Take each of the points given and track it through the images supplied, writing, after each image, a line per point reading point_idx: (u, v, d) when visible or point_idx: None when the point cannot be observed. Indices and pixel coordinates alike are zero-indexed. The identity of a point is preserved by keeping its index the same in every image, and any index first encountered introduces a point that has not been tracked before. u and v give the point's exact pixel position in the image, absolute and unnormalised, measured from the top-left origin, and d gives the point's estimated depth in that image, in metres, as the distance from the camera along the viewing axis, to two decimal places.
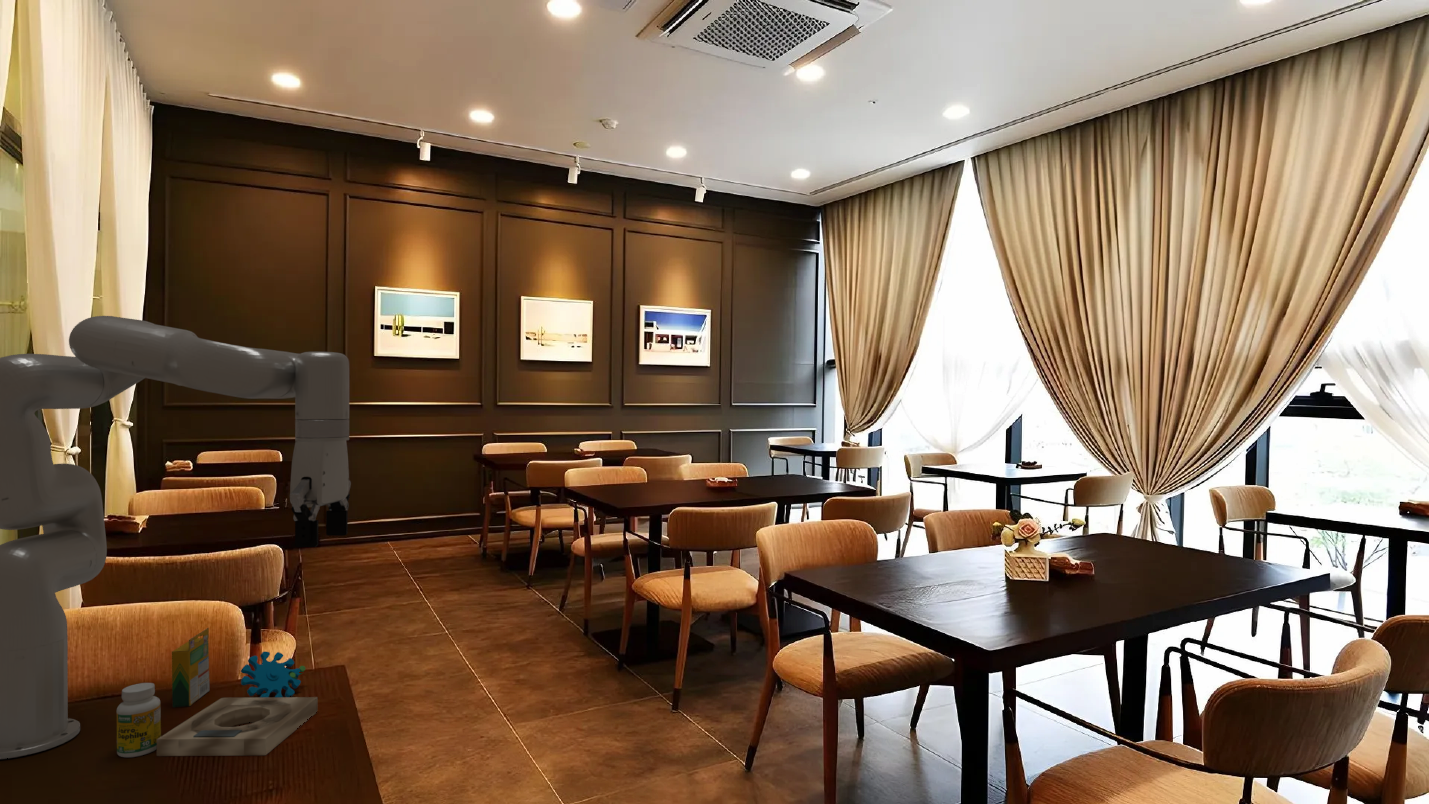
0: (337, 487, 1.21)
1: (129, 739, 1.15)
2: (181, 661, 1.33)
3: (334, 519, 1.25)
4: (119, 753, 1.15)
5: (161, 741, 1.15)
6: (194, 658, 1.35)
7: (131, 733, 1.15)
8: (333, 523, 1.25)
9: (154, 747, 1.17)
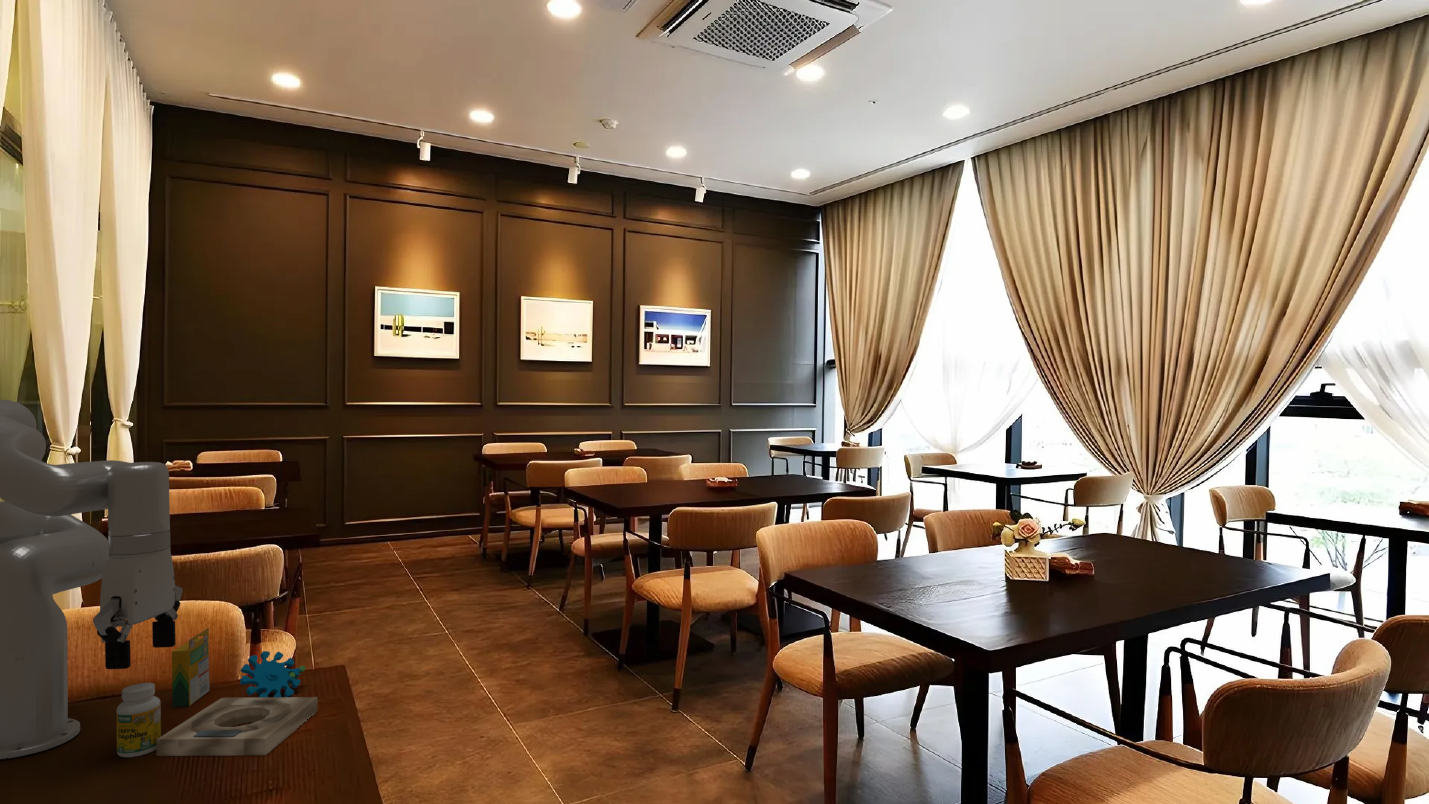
0: (157, 601, 1.17)
1: (129, 739, 1.15)
2: (181, 661, 1.33)
3: (160, 631, 1.22)
4: (119, 753, 1.15)
5: (161, 741, 1.15)
6: (194, 658, 1.35)
7: (131, 733, 1.15)
8: (159, 635, 1.22)
9: (154, 747, 1.17)
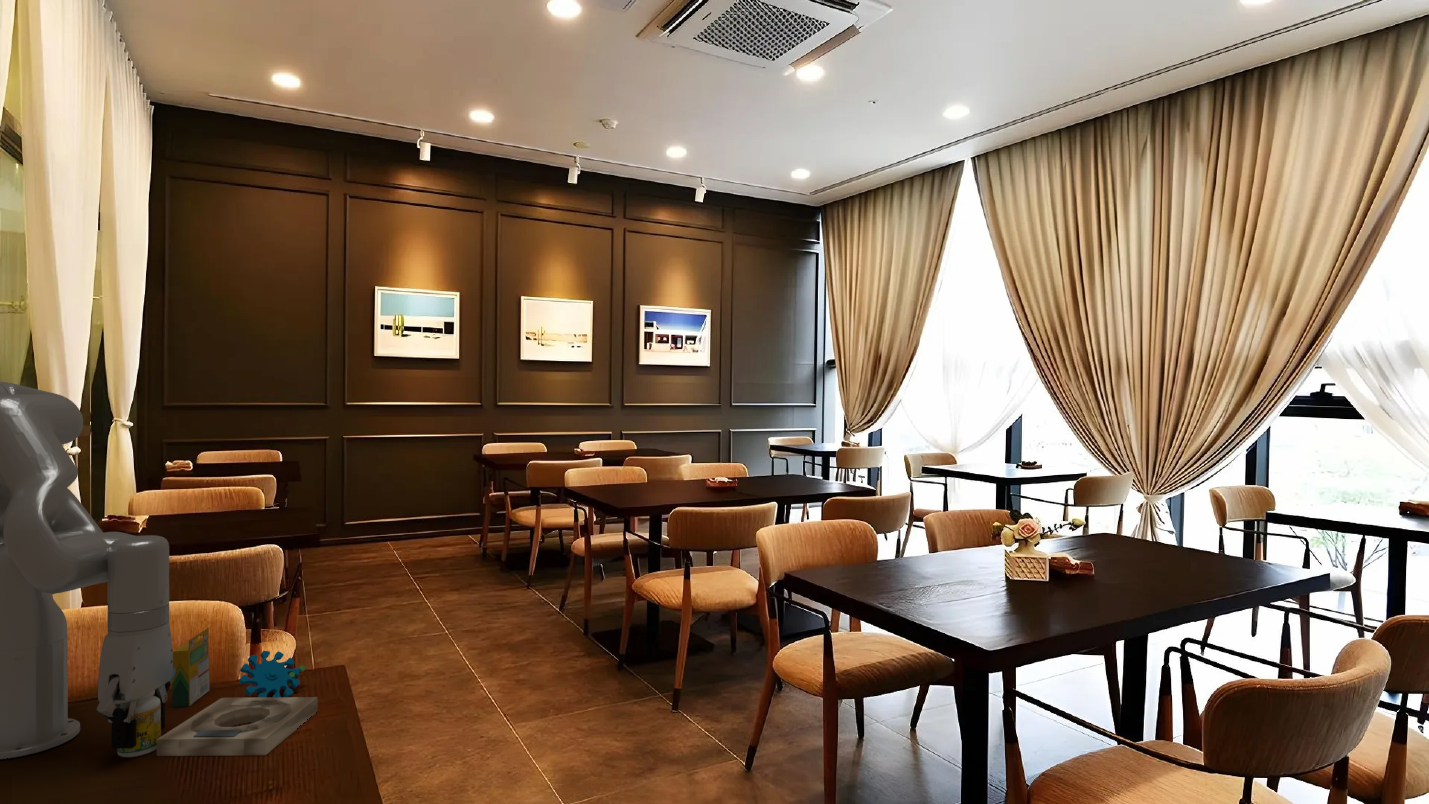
0: (154, 676, 1.17)
1: None
2: (181, 661, 1.33)
3: None
4: (119, 753, 1.15)
5: (161, 741, 1.15)
6: (194, 658, 1.35)
7: None
8: None
9: (154, 747, 1.17)
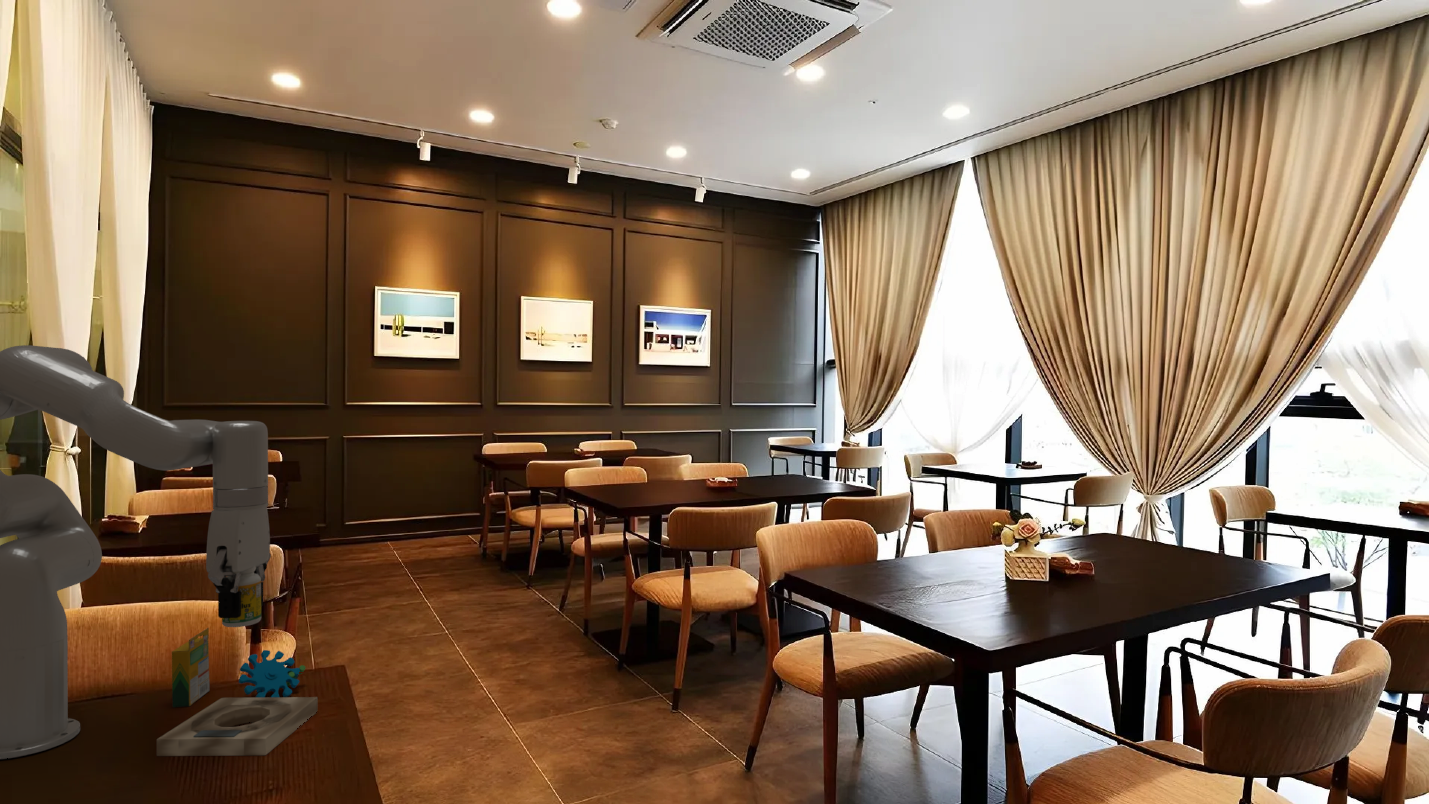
0: (256, 553, 1.23)
1: None
2: (181, 661, 1.34)
3: None
4: (225, 623, 1.21)
5: (161, 741, 1.15)
6: (194, 658, 1.35)
7: None
8: None
9: (256, 619, 1.23)
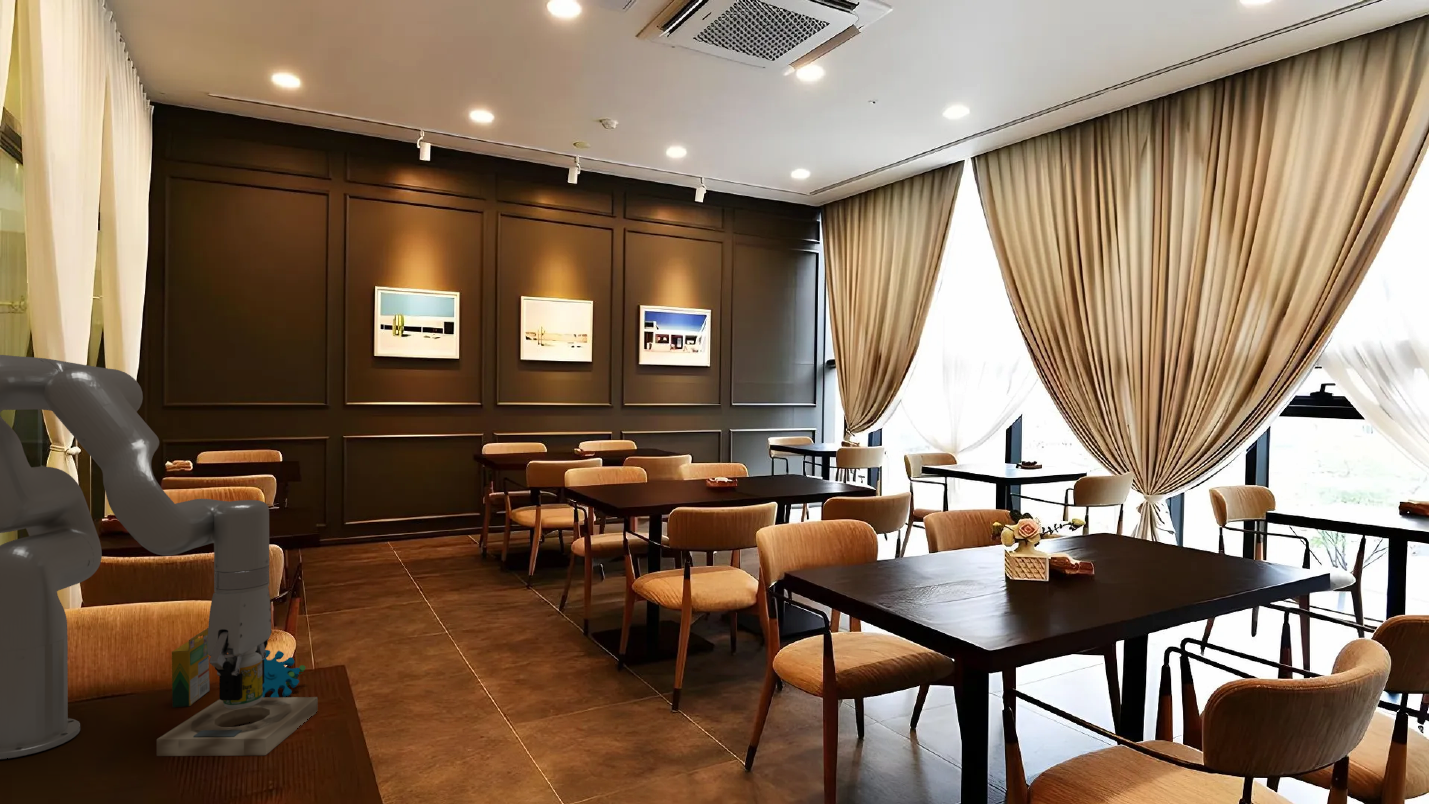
0: (257, 633, 1.24)
1: None
2: (181, 661, 1.33)
3: None
4: (226, 705, 1.21)
5: (161, 741, 1.15)
6: (194, 658, 1.35)
7: None
8: None
9: (258, 700, 1.23)
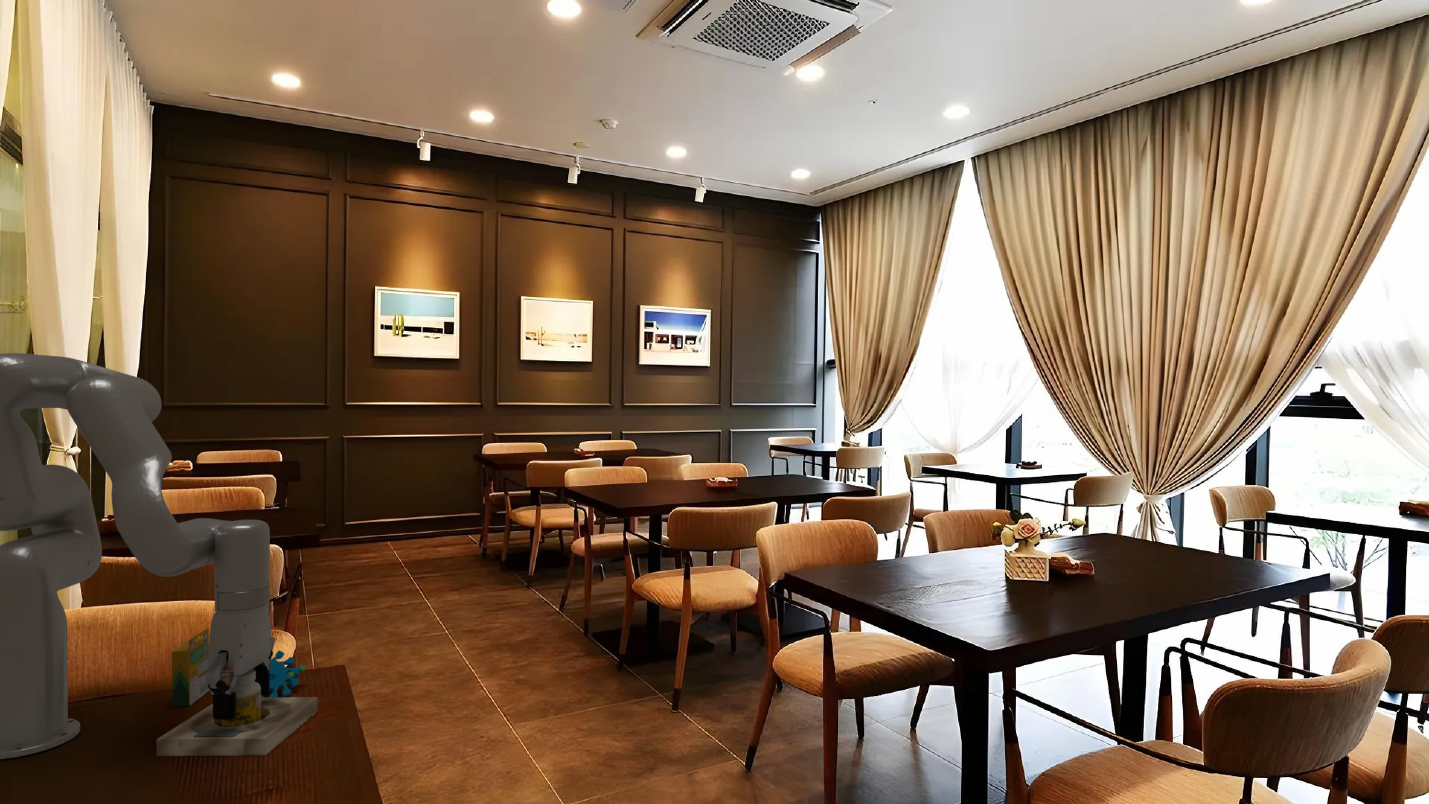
0: (257, 653, 1.24)
1: (234, 721, 1.21)
2: (181, 661, 1.33)
3: (256, 680, 1.28)
4: None
5: (161, 741, 1.15)
6: (194, 658, 1.35)
7: (236, 716, 1.21)
8: None
9: None
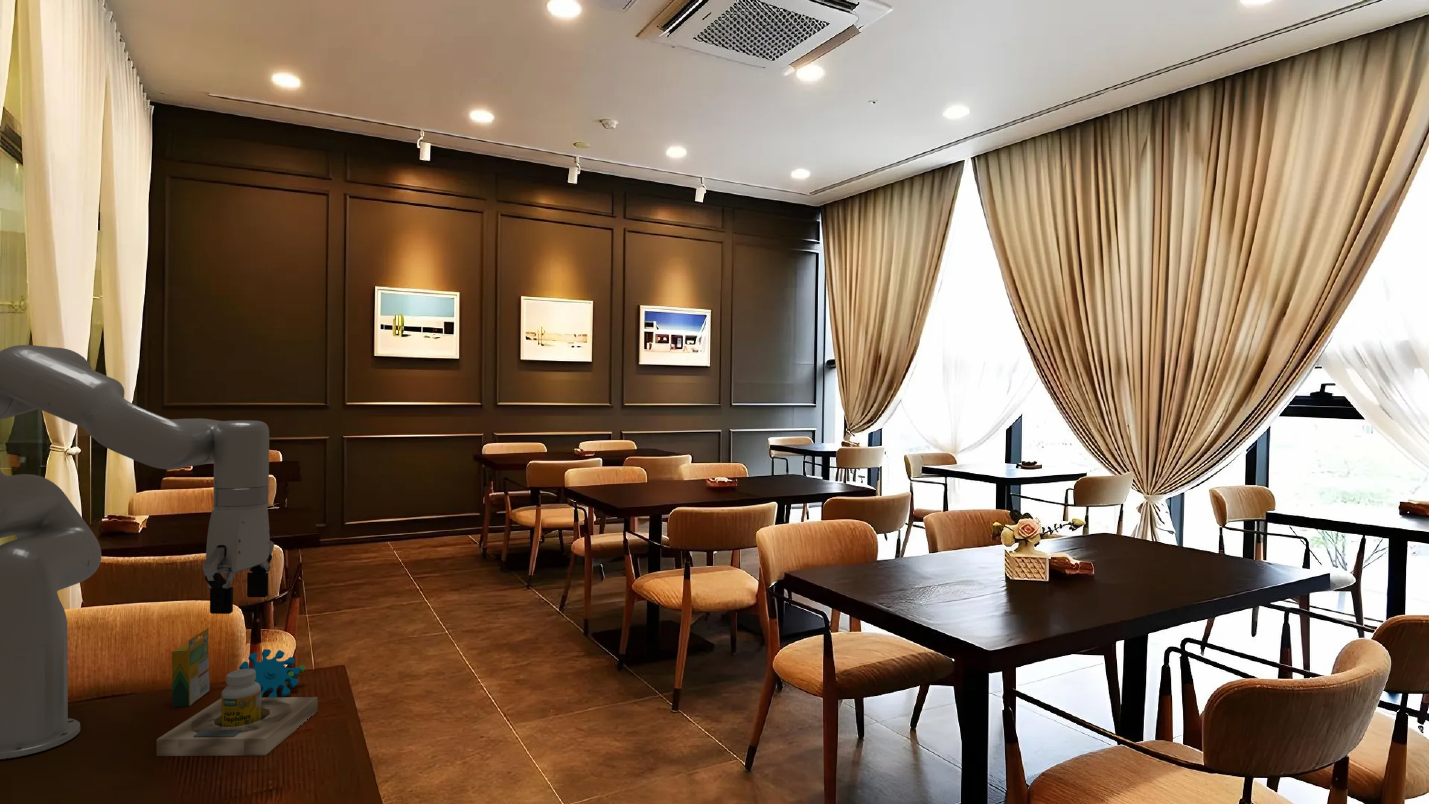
0: (255, 552, 1.24)
1: (234, 721, 1.21)
2: (181, 661, 1.33)
3: (255, 581, 1.28)
4: None
5: (161, 741, 1.15)
6: (194, 658, 1.35)
7: (236, 716, 1.21)
8: (254, 585, 1.28)
9: None
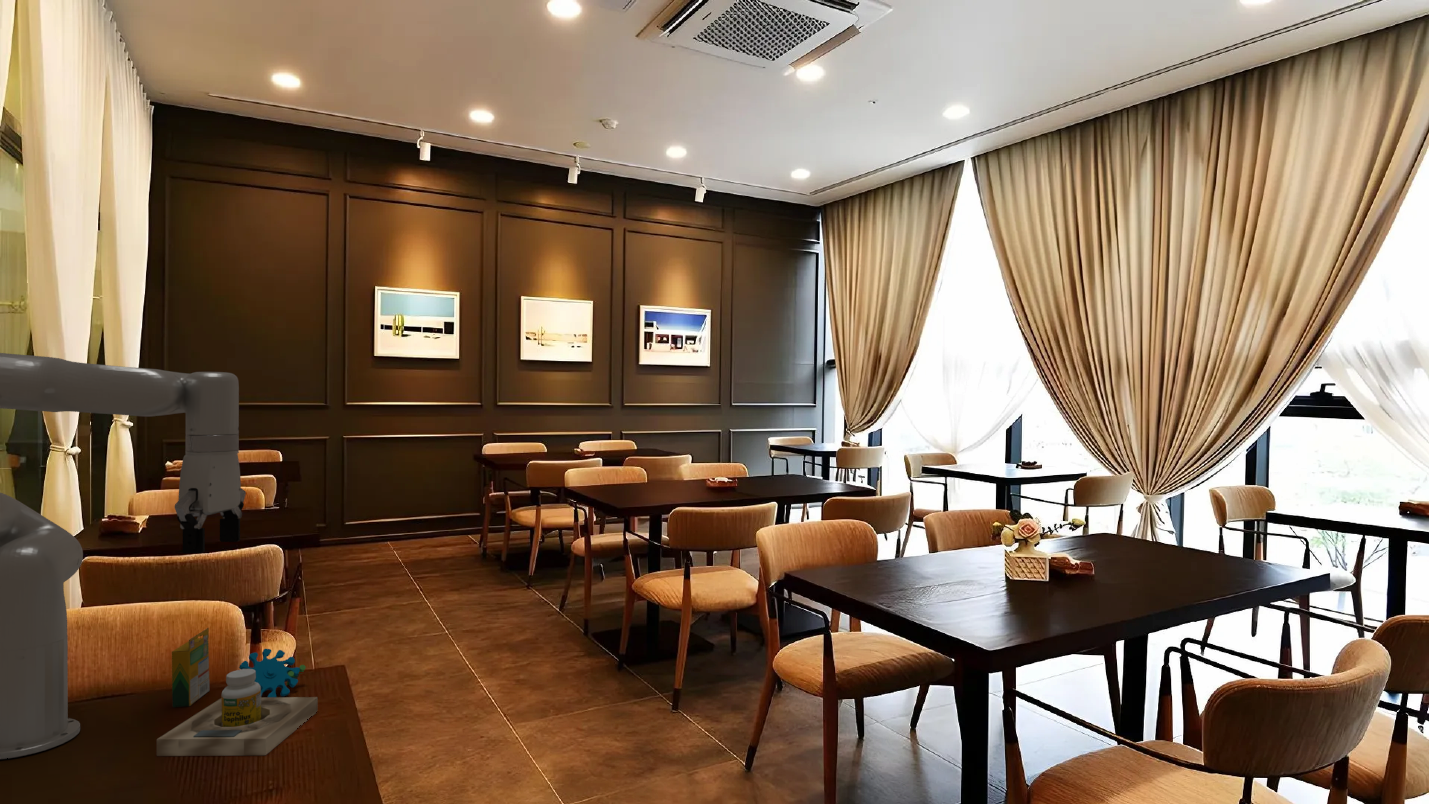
0: (226, 497, 1.30)
1: (234, 721, 1.21)
2: (181, 661, 1.33)
3: (227, 527, 1.35)
4: None
5: (161, 741, 1.15)
6: (194, 658, 1.35)
7: (236, 716, 1.21)
8: (226, 530, 1.35)
9: None
